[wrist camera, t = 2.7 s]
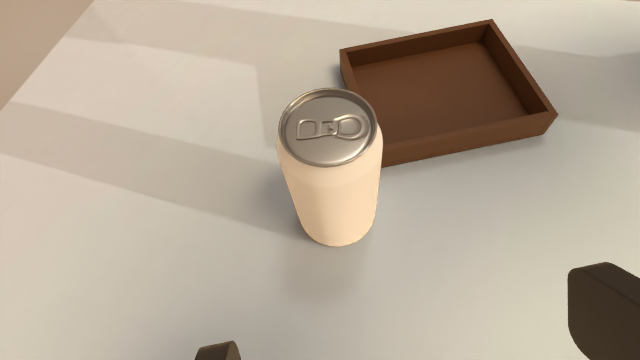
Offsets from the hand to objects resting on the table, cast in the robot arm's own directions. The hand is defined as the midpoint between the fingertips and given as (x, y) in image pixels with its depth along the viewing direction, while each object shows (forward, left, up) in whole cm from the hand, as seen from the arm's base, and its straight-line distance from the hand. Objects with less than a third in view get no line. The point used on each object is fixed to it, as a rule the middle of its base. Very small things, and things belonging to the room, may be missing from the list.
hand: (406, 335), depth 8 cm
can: (0, -12, -19) cm, 22 cm away
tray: (-12, -22, -18) cm, 31 cm away
